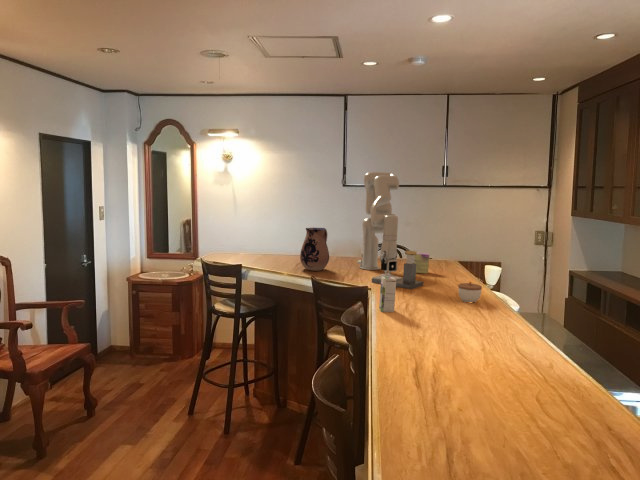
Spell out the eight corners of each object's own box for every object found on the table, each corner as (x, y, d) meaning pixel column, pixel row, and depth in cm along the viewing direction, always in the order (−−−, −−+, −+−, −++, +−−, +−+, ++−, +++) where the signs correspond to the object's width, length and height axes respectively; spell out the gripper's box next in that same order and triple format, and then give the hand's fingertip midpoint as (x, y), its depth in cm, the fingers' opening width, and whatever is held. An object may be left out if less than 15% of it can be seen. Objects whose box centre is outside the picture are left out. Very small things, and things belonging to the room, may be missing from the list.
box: (427, 272, 319) (428, 253, 318) (428, 273, 314) (429, 254, 312) (410, 271, 320) (411, 252, 319) (410, 272, 315) (411, 253, 313)
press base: (371, 282, 283) (372, 260, 281) (384, 278, 294) (385, 257, 292) (411, 289, 268) (412, 266, 267) (423, 285, 280) (424, 263, 278)
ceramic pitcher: (294, 270, 308) (296, 228, 305) (309, 265, 328) (310, 225, 324) (322, 273, 302) (324, 230, 298) (335, 268, 321) (336, 227, 318)
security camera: (387, 278, 280) (388, 260, 279) (379, 276, 286) (380, 258, 285) (396, 278, 283) (397, 259, 282) (388, 275, 289) (389, 257, 288)
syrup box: (378, 308, 227) (380, 276, 226) (391, 308, 228) (393, 276, 226) (381, 312, 222) (383, 278, 220) (394, 312, 222) (396, 279, 220)
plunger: (401, 272, 276) (403, 251, 274) (407, 271, 280) (408, 250, 279) (412, 274, 272) (413, 252, 270) (417, 273, 277) (418, 251, 275)
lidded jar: (463, 297, 255) (464, 278, 253) (484, 301, 248) (485, 282, 247) (453, 301, 246) (454, 281, 245) (475, 305, 240) (476, 285, 238)
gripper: (391, 235, 291) (390, 266, 293) (375, 238, 277) (374, 270, 279) (403, 237, 286) (401, 267, 289) (388, 240, 273) (386, 272, 275)
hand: (388, 268), depth 284 cm, fingers open, 9 cm apart
